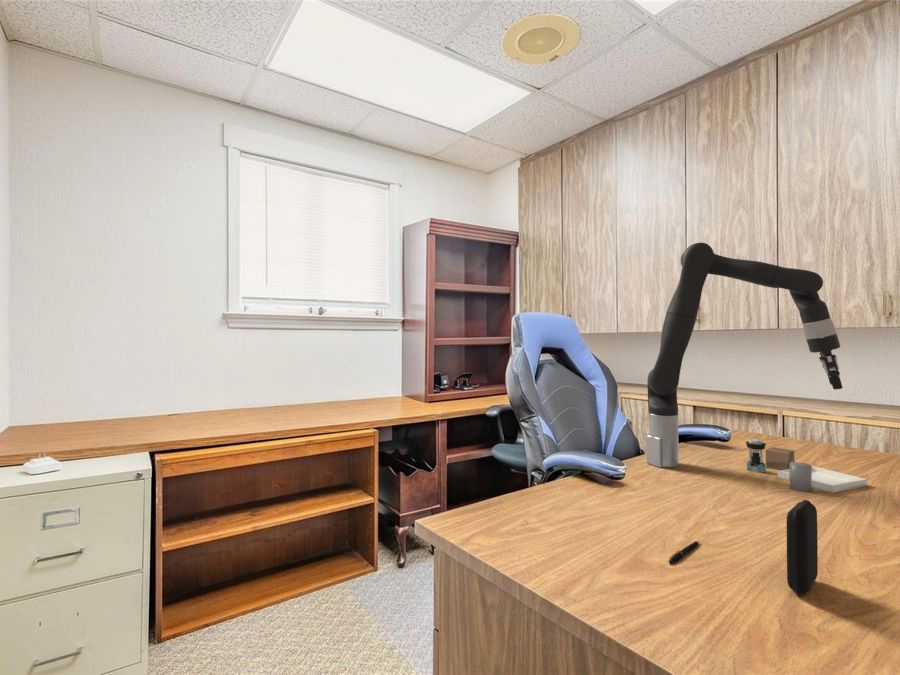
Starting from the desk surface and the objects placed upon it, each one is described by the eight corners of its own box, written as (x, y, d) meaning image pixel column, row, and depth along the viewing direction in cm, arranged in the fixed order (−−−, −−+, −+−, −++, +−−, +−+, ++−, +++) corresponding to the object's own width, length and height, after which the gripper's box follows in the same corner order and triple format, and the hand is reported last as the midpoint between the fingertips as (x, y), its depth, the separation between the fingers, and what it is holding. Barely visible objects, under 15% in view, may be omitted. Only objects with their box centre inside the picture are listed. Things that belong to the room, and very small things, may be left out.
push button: (772, 471, 148) (772, 440, 148) (769, 475, 144) (769, 443, 144) (747, 467, 152) (747, 437, 152) (744, 471, 148) (744, 440, 148)
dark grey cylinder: (803, 492, 128) (803, 467, 128) (785, 487, 133) (785, 463, 133) (815, 490, 130) (815, 465, 130) (797, 485, 135) (797, 461, 135)
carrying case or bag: (800, 572, 86) (800, 494, 86) (821, 579, 84) (820, 498, 84) (784, 594, 79) (783, 508, 79) (806, 602, 77) (805, 513, 77)
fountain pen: (696, 542, 100) (696, 535, 100) (702, 544, 99) (702, 537, 99) (666, 565, 90) (666, 557, 90) (672, 567, 90) (672, 559, 89)
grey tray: (832, 492, 128) (832, 485, 128) (777, 477, 142) (777, 470, 142) (866, 486, 133) (866, 479, 133) (810, 471, 147) (810, 465, 147)
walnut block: (787, 472, 147) (787, 453, 147) (765, 467, 152) (765, 449, 152) (794, 468, 151) (794, 450, 151) (773, 464, 156) (773, 446, 156)
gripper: (804, 336, 150) (819, 385, 149) (807, 339, 139) (823, 392, 137) (833, 330, 146) (849, 380, 145) (838, 333, 134) (855, 388, 133)
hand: (836, 386), depth 141 cm, fingers open, 8 cm apart
